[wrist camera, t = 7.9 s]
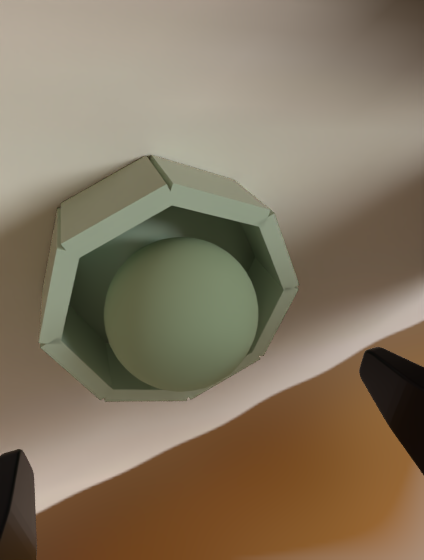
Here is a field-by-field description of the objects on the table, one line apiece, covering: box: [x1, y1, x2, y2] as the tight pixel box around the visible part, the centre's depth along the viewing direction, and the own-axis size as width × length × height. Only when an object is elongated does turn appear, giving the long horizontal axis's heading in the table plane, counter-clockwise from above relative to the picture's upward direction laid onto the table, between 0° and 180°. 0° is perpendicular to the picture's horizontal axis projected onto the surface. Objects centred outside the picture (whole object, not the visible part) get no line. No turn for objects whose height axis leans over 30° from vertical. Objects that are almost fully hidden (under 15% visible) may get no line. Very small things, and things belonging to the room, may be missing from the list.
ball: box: [104, 237, 258, 392], centre depth 12 cm, size 5×5×5 cm
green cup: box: [39, 155, 299, 402], centre depth 14 cm, size 8×8×3 cm
